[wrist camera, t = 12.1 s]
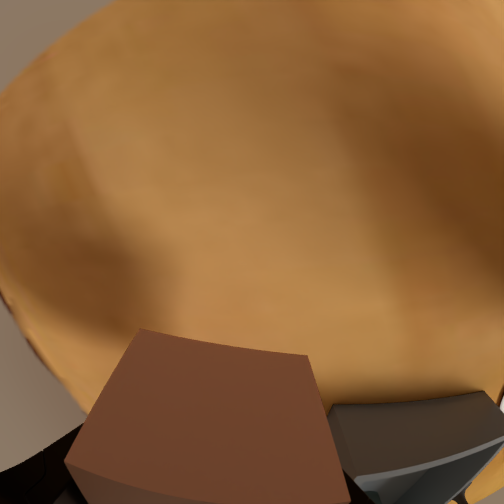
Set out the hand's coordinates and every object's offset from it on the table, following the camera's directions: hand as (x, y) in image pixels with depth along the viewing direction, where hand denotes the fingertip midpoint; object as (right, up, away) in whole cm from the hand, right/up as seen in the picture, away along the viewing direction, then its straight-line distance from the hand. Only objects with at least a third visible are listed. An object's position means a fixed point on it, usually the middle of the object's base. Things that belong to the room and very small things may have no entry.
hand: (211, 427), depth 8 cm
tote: (+11, -12, +9) cm, 18 cm away
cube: (0, 0, +1) cm, 1 cm away
